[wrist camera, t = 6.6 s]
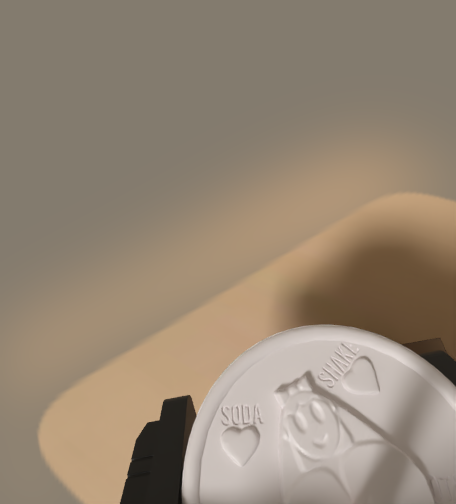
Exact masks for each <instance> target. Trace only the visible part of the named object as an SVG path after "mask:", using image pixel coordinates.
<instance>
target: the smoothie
mask: <svg viewBox="0 0 456 504" xmlns="http://www.w3.org/2000/svg"><path fill="white" fill-rule="evenodd" d="M182 504H456V387H455V385H454V384H453V383H452V382H451V381H450V380H449V379H448V378H446V377H445V376H444V375H443V374H442V373H441V372H440V371H439V370H438V369H436V368H435V367H434V366H433V365H431V364H430V363H429V362H427V361H426V360H425V359H424V358H422V357H420V356H419V355H417V354H416V353H414V352H413V351H411V350H410V349H408V348H406V347H404V346H403V345H401V344H399V343H397V342H395V341H393V340H390V339H388V338H386V337H384V336H381V335H378V334H375V333H373V332H370V331H366V330H362V329H358V328H354V327H348V326H341V325H310V326H302V327H297V328H293V329H289V330H286V331H283V332H280V333H277V334H274V335H272V336H270V337H268V338H265V339H264V340H262V341H260V342H258V343H257V344H255V345H253V346H252V347H250V348H249V349H248V350H246V351H245V352H243V353H242V354H241V355H240V356H239V357H238V358H236V359H235V360H234V361H233V362H232V363H231V364H230V365H229V366H228V367H227V368H226V369H225V371H224V372H223V373H222V374H221V375H220V377H219V378H218V379H217V381H216V382H215V383H214V385H213V386H212V388H211V389H210V391H209V393H208V394H207V396H206V398H205V400H204V401H203V403H202V405H201V407H200V409H199V412H198V414H197V417H196V419H195V422H194V424H193V427H192V431H191V434H190V437H189V440H188V445H187V450H186V455H185V461H184V468H183V478H182Z"/></svg>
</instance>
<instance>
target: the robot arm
mask: <svg viewBox="0 0 456 504" xmlns="http://www.w3.org/2000/svg"><path fill="white" fill-rule="evenodd" d="M417 355H419V356H420V357H422V358H424V359H425V360H426V361H427V362H429V363H430V364H431V365H433V366H434V367H435V368H436V369H438V370H439V371H440V372H441V373H442V374H443V375H444V376H445V377H446V378H448V379H449V380H450V381H451V382H452V383H453V384H454V385H455V387H456V361H454V360H453V359H452V358H451V357H450V356H449V355H448V354H447V353H445V352H444V351H442V350H437V351H432V352H426V353H421V354H417ZM196 417H197V416H196V412H195V409H194V405H193V401H192V398H191V396H190V395H187V396H182V397H176V398H171V399H165V400H164V402H163V405H162V411H161V416H160V420H159V421H154V422H148V423H147V424H146V426H145V427H144V429H143V430H142V432H141V433H140V435H139V436H138V438H137V439H136V443H135V447H134V451H133V454H132V458H131V459H132V462H130V466H129V470H128V474H127V475H128V478H127V479H126V482H125V486H124V490H123V494H122V498H121V502H120V504H182V478H183V468H184V461H185V455H186V450H187V445H188V440H189V437H190V434H191V431H192V427H193V424H194V422H195V419H196Z"/></svg>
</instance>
